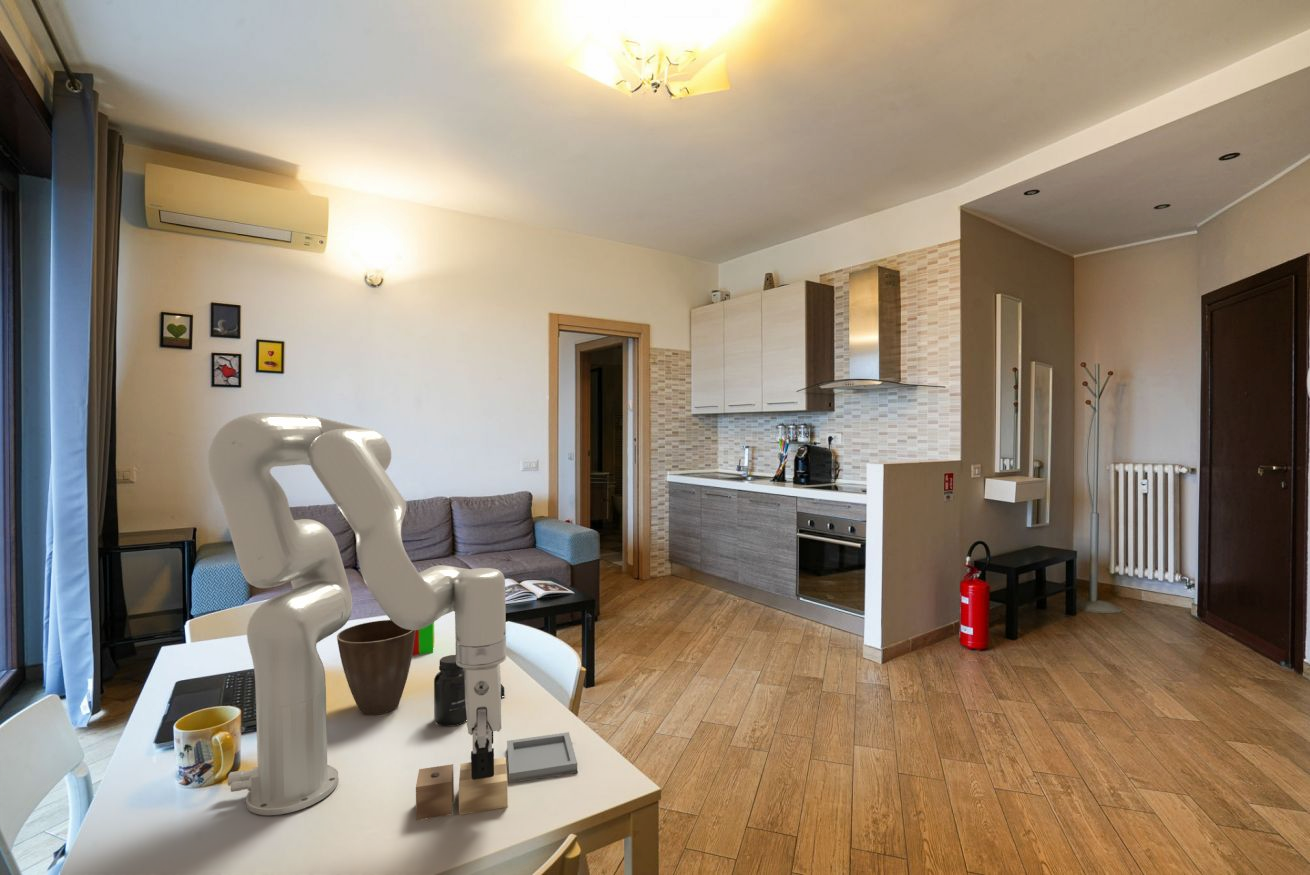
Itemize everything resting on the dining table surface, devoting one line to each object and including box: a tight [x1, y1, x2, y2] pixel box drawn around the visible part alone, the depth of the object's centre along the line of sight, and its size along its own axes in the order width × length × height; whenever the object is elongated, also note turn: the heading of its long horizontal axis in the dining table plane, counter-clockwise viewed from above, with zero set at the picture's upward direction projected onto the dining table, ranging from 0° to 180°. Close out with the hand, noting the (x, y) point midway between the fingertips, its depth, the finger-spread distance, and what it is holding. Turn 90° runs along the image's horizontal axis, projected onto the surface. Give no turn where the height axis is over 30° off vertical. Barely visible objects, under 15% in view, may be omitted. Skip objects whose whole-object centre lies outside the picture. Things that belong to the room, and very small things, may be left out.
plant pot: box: [336, 619, 416, 716], centre depth 128 cm, size 15×15×16 cm
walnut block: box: [415, 763, 455, 821], centre depth 94 cm, size 5×5×5 cm
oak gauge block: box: [458, 756, 509, 816], centre depth 96 cm, size 7×7×4 cm
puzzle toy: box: [389, 618, 435, 656], centre depth 163 cm, size 10×10×10 cm
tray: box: [506, 731, 579, 784], centre depth 107 cm, size 11×11×2 cm
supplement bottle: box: [433, 654, 467, 727], centre depth 123 cm, size 7×7×12 cm
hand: (483, 760), depth 96 cm, fingers open, 9 cm apart
